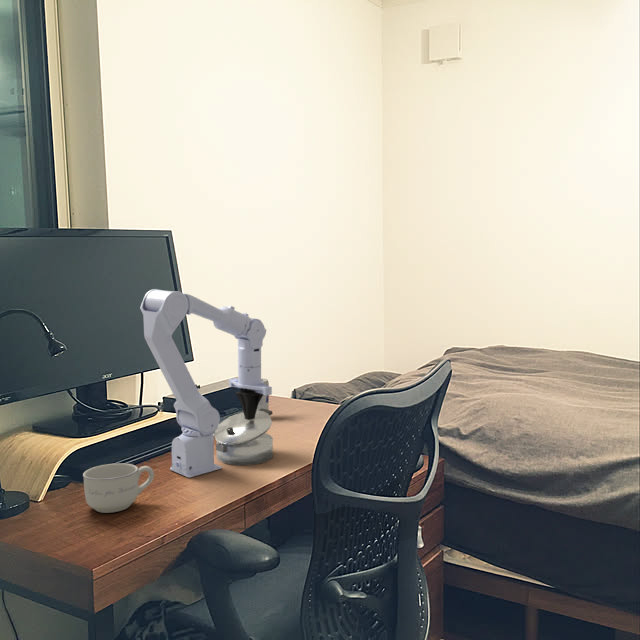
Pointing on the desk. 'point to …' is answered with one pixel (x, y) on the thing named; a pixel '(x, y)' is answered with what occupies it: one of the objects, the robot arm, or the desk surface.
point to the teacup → (114, 486)
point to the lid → (243, 428)
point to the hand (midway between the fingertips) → (249, 418)
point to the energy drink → (264, 399)
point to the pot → (247, 451)
